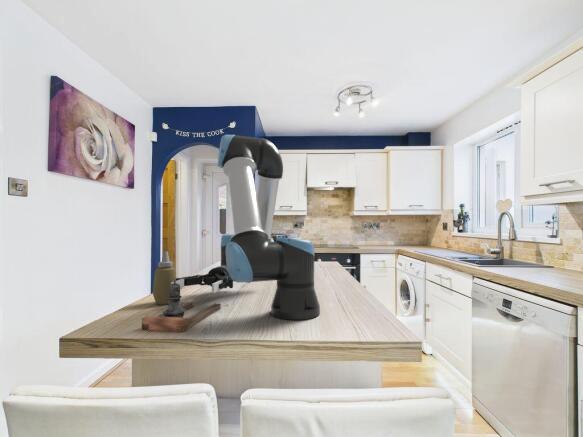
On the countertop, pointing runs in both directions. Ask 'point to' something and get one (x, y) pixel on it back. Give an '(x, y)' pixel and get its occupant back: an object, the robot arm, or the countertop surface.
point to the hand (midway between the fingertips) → (192, 287)
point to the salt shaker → (174, 302)
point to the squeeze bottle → (163, 280)
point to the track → (177, 319)
